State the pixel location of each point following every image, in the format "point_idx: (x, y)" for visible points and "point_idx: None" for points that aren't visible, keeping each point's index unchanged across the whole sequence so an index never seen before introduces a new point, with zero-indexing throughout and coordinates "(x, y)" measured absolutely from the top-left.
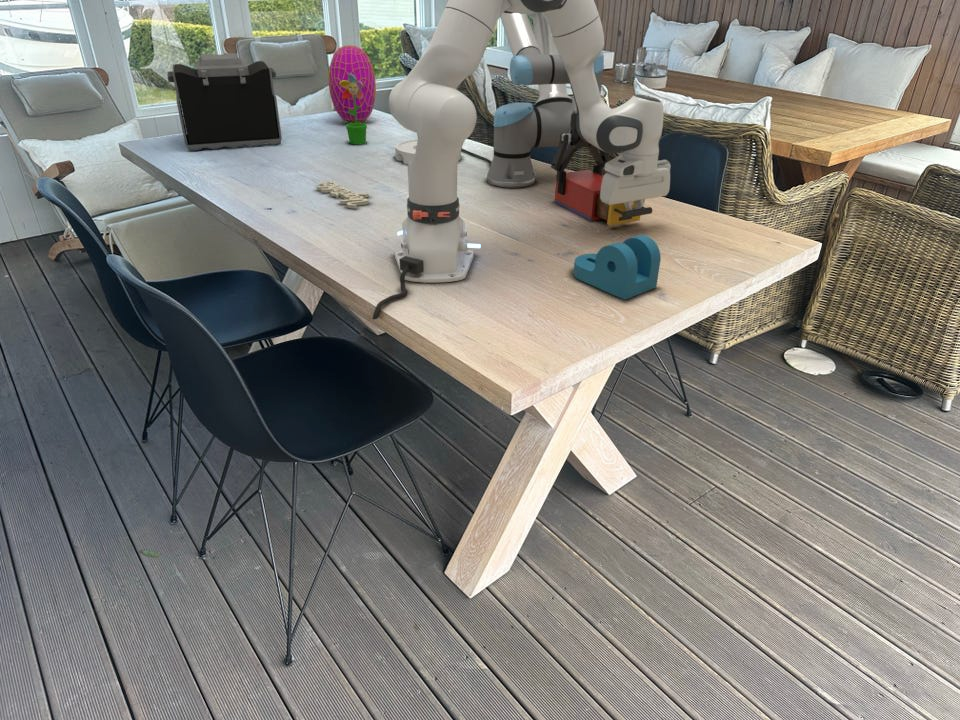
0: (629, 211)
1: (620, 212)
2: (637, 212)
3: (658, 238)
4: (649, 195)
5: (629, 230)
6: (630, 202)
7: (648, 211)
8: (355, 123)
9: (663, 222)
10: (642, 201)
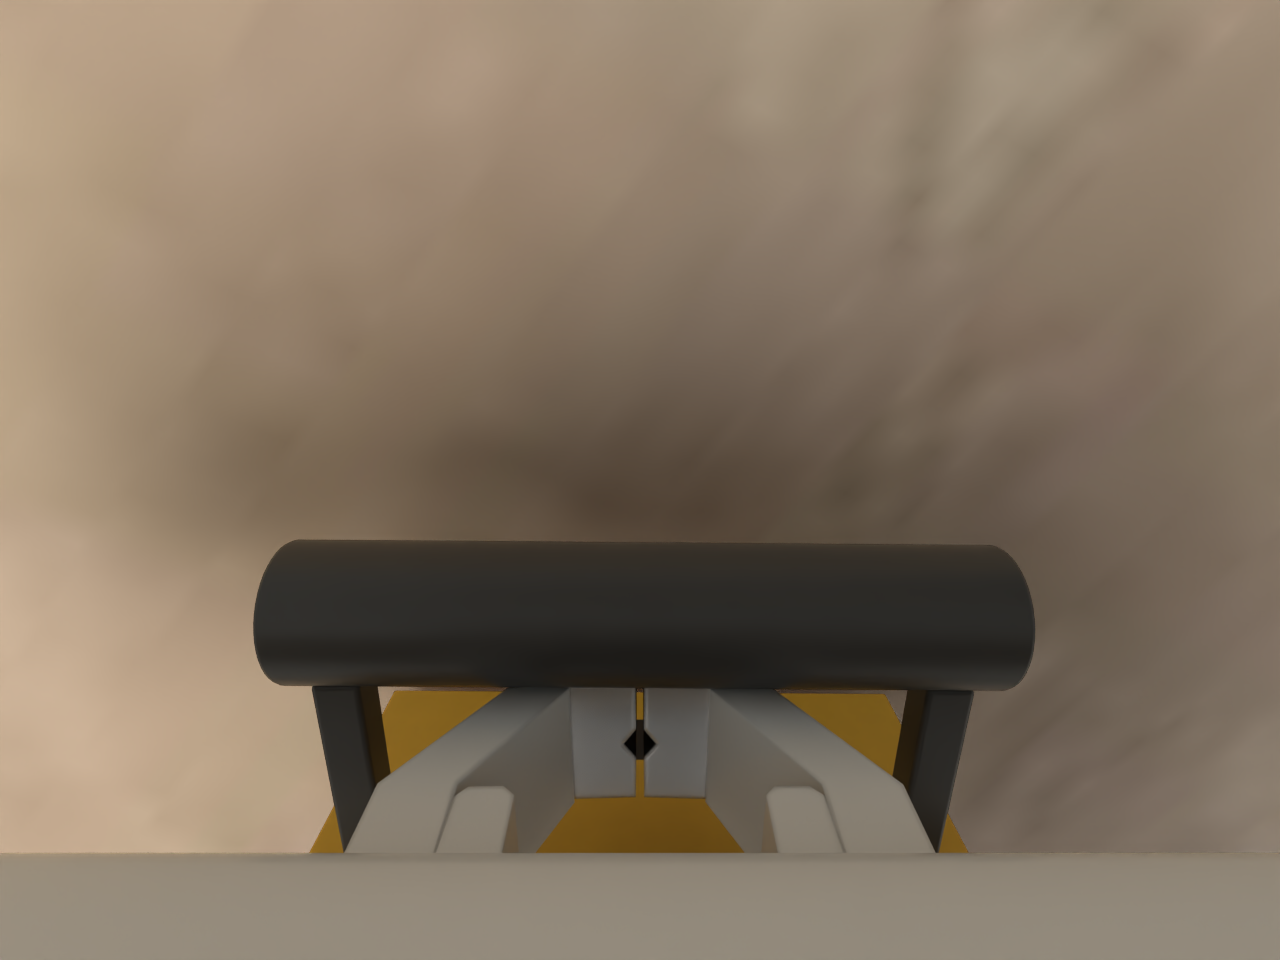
0: (905, 631)
1: (957, 735)
2: (701, 568)
3: (492, 81)
4: (145, 942)
5: (669, 538)
6: (888, 851)
7: (389, 552)
8: None
9: (68, 581)
10: (439, 827)
